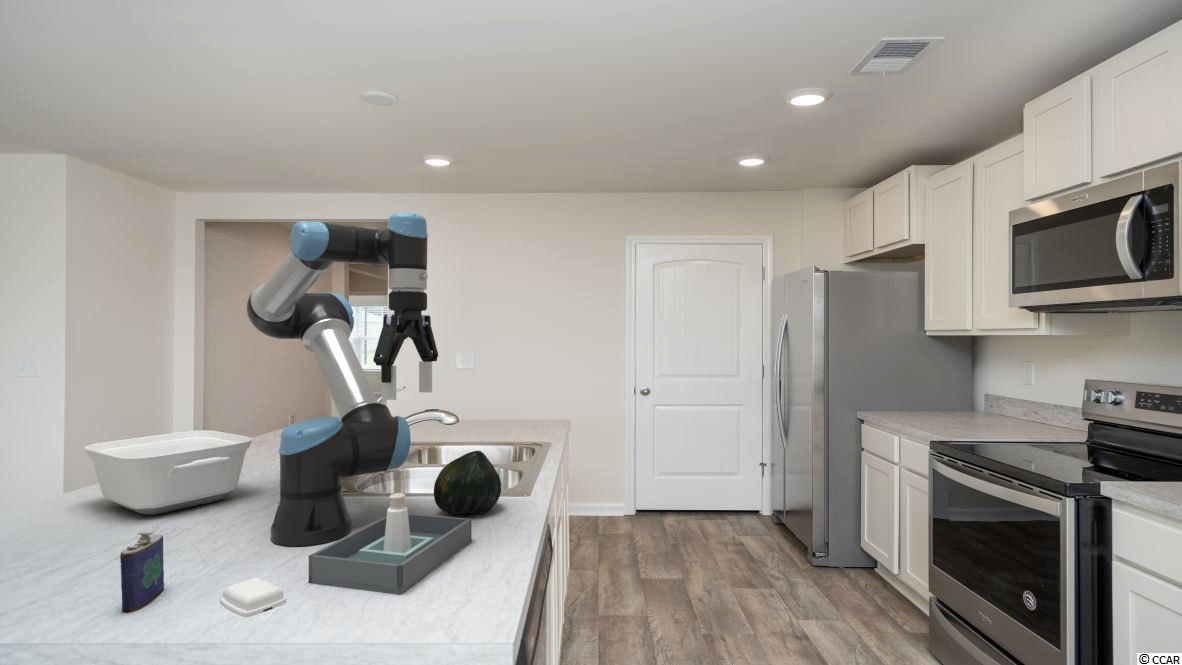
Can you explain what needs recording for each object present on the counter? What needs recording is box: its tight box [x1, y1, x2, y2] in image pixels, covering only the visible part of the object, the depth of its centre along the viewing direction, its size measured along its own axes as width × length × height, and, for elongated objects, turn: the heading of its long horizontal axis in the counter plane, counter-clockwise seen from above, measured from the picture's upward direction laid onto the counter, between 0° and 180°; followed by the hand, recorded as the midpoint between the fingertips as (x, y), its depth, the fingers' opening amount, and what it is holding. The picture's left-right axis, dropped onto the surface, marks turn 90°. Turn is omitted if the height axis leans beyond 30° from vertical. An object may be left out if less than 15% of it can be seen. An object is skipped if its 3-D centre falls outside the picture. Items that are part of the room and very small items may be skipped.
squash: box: [433, 450, 502, 515], centre depth 144 cm, size 14×15×15 cm
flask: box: [119, 531, 165, 614], centre depth 98 cm, size 9×3×11 cm, turn 8°
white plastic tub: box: [83, 429, 253, 516], centre depth 151 cm, size 34×29×15 cm
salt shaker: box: [383, 492, 411, 553], centre depth 115 cm, size 5×5×11 cm
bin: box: [308, 512, 473, 595], centre depth 115 cm, size 17×25×4 cm
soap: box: [219, 577, 287, 618], centre depth 97 cm, size 9×7×3 cm
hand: (408, 395), depth 127 cm, fingers open, 13 cm apart
